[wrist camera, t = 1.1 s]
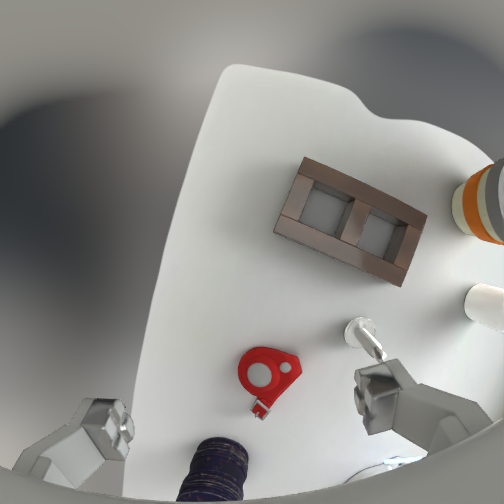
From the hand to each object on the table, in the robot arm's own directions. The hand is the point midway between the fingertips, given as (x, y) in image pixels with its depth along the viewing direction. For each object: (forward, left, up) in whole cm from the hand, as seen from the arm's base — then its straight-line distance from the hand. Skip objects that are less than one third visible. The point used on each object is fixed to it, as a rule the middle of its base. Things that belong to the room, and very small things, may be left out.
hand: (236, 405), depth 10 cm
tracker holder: (-6, +15, -37) cm, 40 cm away
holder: (-8, -12, -37) cm, 40 cm away
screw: (-16, +2, -37) cm, 40 cm away
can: (-36, -10, -37) cm, 53 cm away
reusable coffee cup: (-28, -24, -37) cm, 52 cm away
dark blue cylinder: (-6, +34, -37) cm, 51 cm away
